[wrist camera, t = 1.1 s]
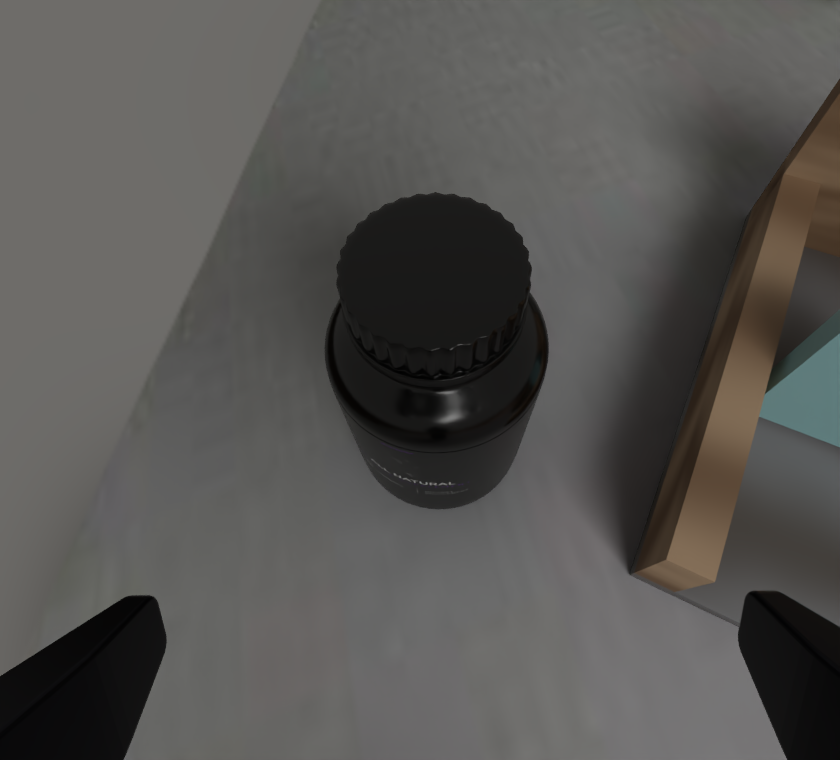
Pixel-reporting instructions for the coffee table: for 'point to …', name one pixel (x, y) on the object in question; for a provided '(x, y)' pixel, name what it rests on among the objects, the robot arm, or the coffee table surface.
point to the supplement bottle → (436, 347)
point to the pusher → (808, 386)
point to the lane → (740, 407)
